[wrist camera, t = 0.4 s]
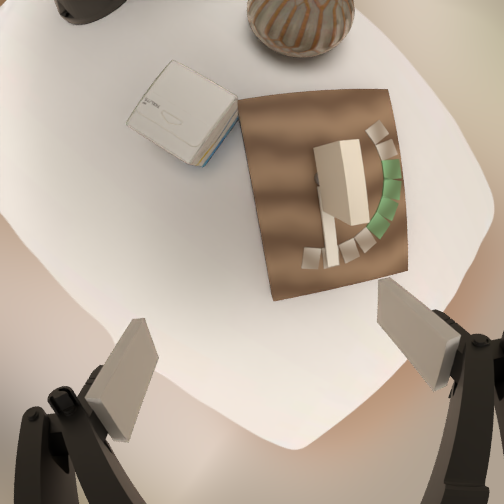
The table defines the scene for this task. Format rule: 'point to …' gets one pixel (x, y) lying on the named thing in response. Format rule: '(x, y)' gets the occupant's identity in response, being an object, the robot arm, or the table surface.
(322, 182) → the cream dial pointer
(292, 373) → the table surface
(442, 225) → the table surface
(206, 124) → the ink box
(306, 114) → the board
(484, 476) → the robot arm
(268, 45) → the vase
